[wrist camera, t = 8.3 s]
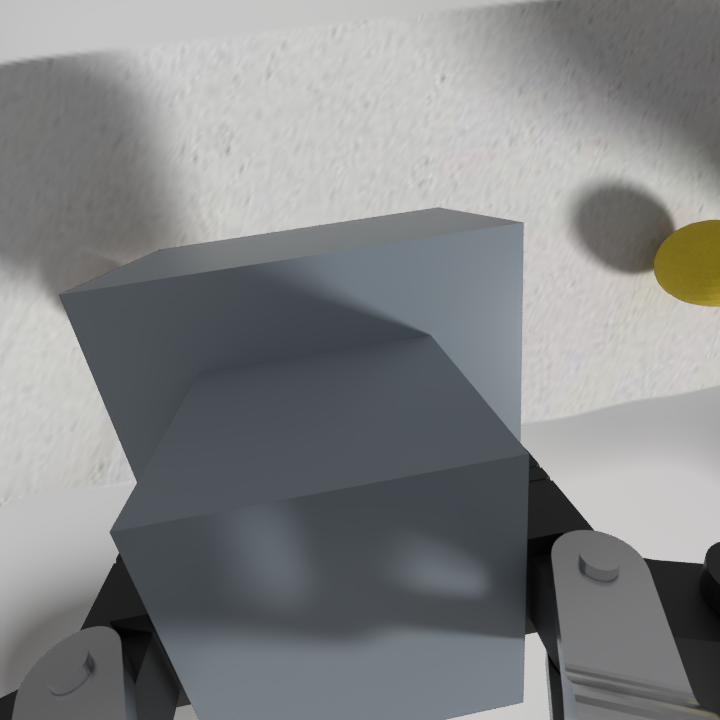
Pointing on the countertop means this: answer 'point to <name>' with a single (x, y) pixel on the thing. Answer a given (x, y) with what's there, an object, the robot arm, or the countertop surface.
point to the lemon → (691, 264)
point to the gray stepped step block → (325, 463)
